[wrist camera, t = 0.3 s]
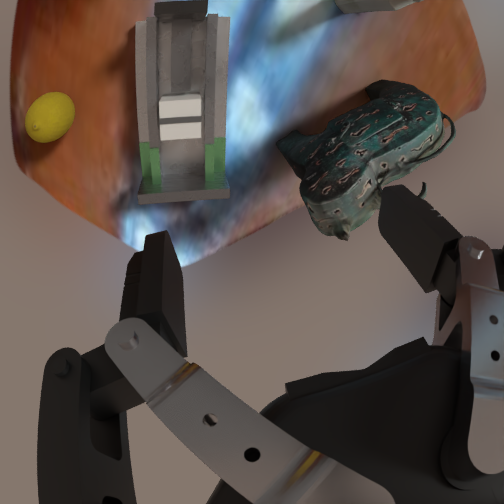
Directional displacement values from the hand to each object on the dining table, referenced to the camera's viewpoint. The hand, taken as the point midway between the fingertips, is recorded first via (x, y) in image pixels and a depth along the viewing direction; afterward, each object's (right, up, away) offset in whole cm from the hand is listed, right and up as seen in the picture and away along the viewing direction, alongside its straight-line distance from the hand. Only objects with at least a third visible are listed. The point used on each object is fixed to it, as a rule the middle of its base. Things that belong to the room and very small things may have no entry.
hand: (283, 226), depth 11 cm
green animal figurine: (+9, +17, +25) cm, 31 cm away
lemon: (-24, +16, +17) cm, 33 cm away
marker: (-9, +15, +20) cm, 26 cm away
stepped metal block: (-8, +20, +15) cm, 27 cm away
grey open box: (-9, +16, +20) cm, 28 cm away
